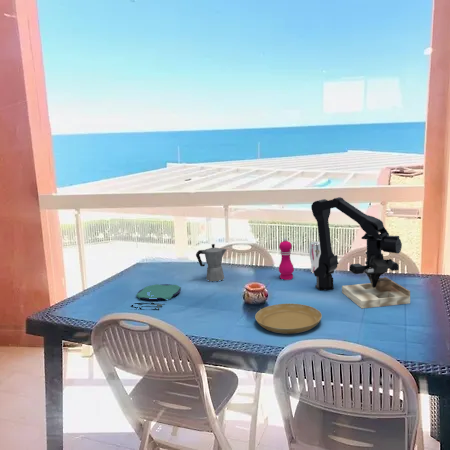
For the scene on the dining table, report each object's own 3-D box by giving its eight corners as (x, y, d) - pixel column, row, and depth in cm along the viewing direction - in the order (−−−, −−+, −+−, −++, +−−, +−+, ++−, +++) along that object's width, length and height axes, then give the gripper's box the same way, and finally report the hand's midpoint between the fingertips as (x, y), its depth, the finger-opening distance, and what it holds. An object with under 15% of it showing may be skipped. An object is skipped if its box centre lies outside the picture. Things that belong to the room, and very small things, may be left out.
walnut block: (380, 292, 186) (380, 281, 185) (375, 288, 190) (375, 278, 189) (391, 291, 186) (391, 280, 186) (385, 287, 191) (385, 277, 190)
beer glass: (325, 270, 231) (324, 241, 228) (322, 274, 225) (321, 244, 222) (311, 269, 234) (311, 241, 231) (308, 273, 228) (307, 244, 225)
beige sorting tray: (361, 308, 177) (361, 296, 177) (342, 292, 197) (341, 281, 196) (410, 303, 180) (410, 291, 179) (385, 288, 199) (385, 277, 199)
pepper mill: (284, 281, 218) (283, 240, 214) (276, 277, 224) (274, 237, 220) (297, 278, 221) (295, 238, 217) (288, 275, 227) (287, 235, 224)
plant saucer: (276, 342, 152) (275, 333, 152) (244, 319, 174) (244, 311, 174) (335, 327, 162) (335, 318, 161) (298, 307, 183) (298, 299, 183)
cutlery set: (187, 288, 216) (186, 283, 216) (163, 312, 188) (162, 307, 187) (148, 287, 221) (147, 283, 221) (119, 311, 193) (118, 306, 192)
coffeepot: (226, 275, 233) (224, 240, 230) (230, 280, 224) (228, 244, 221) (196, 278, 230) (193, 244, 227) (199, 284, 221) (196, 247, 218)
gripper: (360, 256, 176) (360, 295, 179) (406, 253, 178) (405, 291, 181) (348, 250, 187) (349, 287, 190) (392, 247, 189) (391, 283, 192)
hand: (373, 287), depth 188 cm, fingers closed
